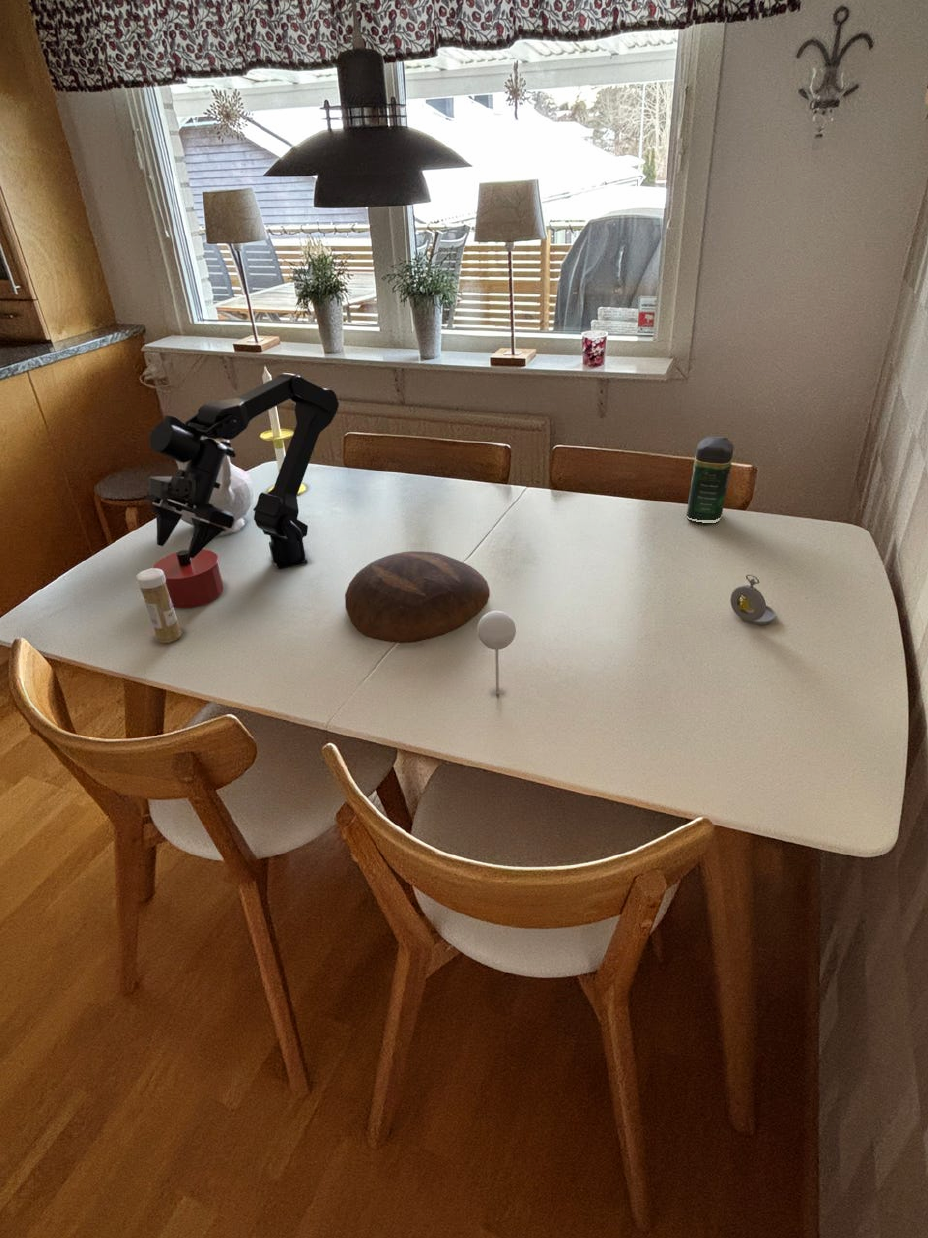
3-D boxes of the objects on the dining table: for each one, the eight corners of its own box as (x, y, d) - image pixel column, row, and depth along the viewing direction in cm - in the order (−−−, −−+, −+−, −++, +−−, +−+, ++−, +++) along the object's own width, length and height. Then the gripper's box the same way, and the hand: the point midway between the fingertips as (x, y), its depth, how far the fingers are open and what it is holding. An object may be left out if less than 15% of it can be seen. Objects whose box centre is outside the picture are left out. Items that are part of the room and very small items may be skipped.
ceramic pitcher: (282, 526, 175) (270, 423, 164) (219, 553, 161) (200, 442, 149) (222, 510, 186) (205, 412, 174) (157, 533, 171) (134, 428, 159)
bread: (425, 559, 156) (422, 522, 151) (519, 602, 139) (519, 562, 134) (315, 610, 139) (308, 570, 135) (407, 666, 123) (403, 623, 118)
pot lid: (205, 547, 151) (201, 532, 149) (229, 568, 143) (225, 553, 141) (144, 567, 145) (139, 551, 143) (166, 590, 136) (161, 574, 134)
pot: (210, 573, 154) (203, 546, 150) (232, 594, 146) (226, 566, 143) (155, 592, 148) (146, 564, 144) (175, 614, 140) (167, 586, 136)
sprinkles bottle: (185, 638, 133) (166, 574, 125) (159, 647, 131) (139, 582, 123) (178, 627, 136) (159, 564, 129) (153, 635, 134) (133, 572, 127)
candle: (261, 497, 189) (236, 369, 171) (276, 482, 197) (253, 359, 180) (298, 498, 187) (276, 369, 170) (311, 483, 196) (291, 359, 178)
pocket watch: (774, 609, 134) (785, 562, 128) (775, 634, 127) (786, 584, 122) (727, 603, 136) (736, 556, 131) (726, 627, 129) (735, 578, 124)
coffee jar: (719, 528, 163) (733, 449, 153) (683, 524, 166) (694, 445, 156) (723, 512, 171) (736, 435, 161) (689, 507, 173) (700, 432, 163)
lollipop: (477, 682, 118) (474, 604, 110) (512, 680, 118) (512, 601, 110) (481, 706, 113) (478, 626, 105) (518, 703, 113) (518, 623, 105)
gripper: (134, 447, 130) (106, 528, 131) (199, 465, 121) (169, 553, 121) (184, 467, 140) (158, 543, 140) (247, 486, 131) (220, 567, 131)
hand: (174, 551), depth 133 cm, fingers open, 9 cm apart
